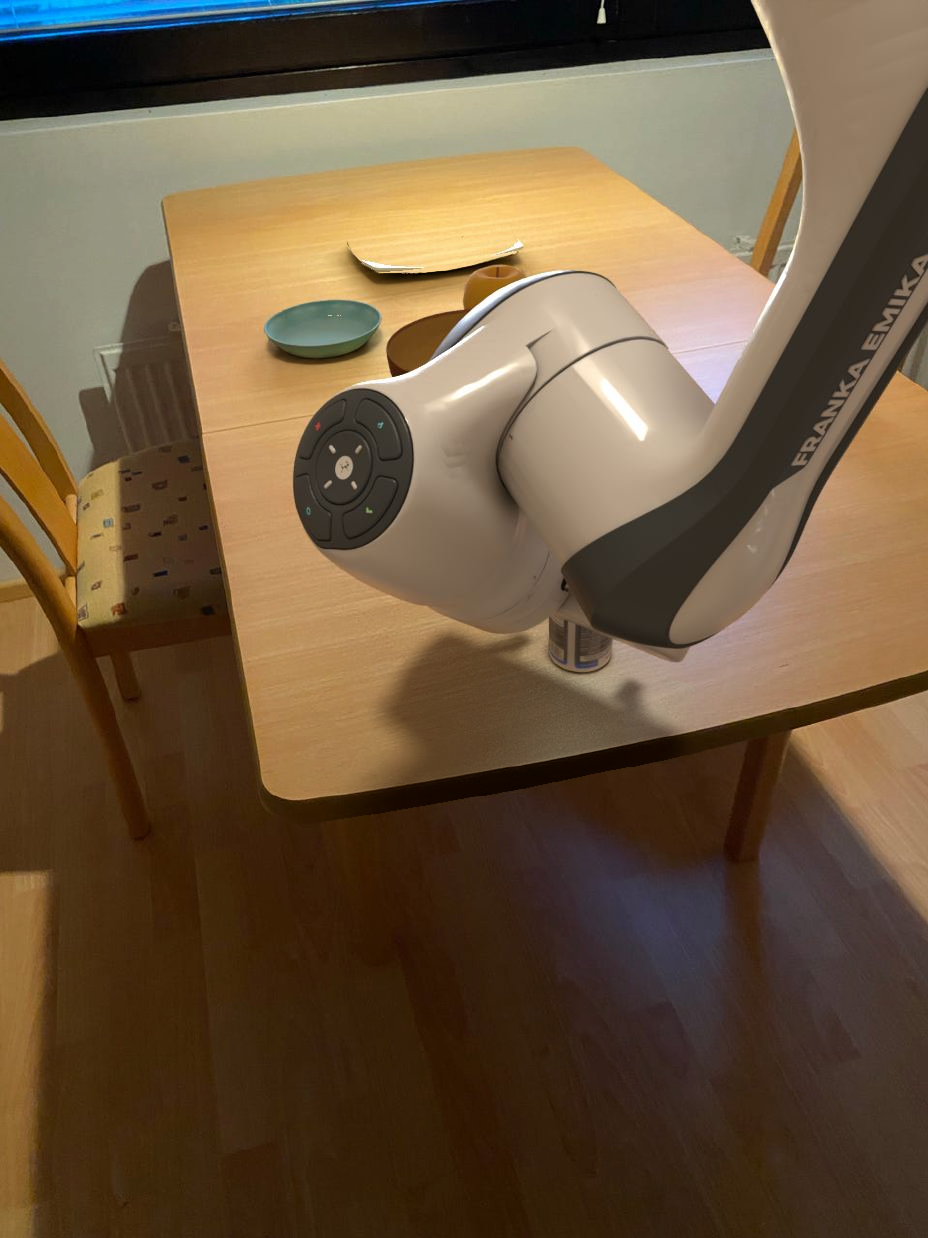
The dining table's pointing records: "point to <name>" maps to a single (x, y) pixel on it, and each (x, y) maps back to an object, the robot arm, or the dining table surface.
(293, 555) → the dining table surface
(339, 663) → the dining table surface
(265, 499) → the dining table surface
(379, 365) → the dining table surface
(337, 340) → the saucer
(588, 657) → the pill bottle
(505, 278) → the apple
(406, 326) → the bowl
